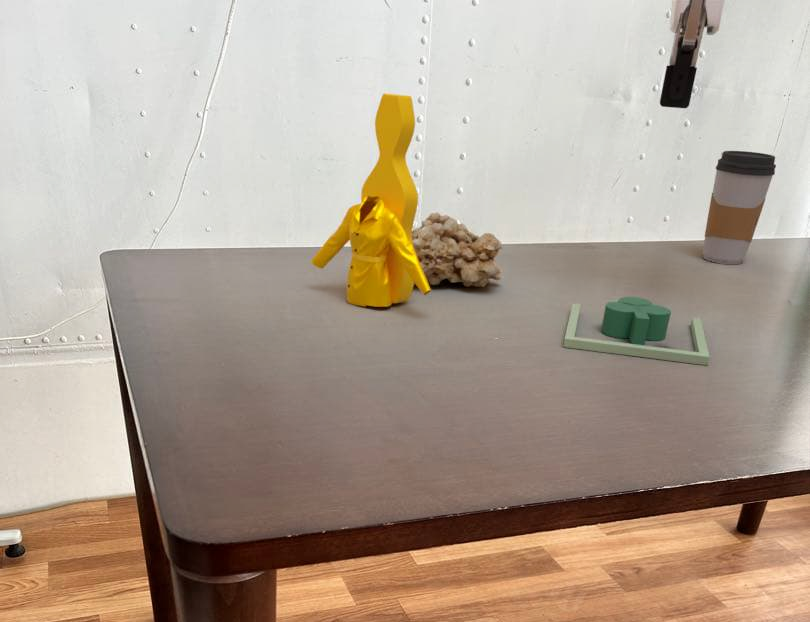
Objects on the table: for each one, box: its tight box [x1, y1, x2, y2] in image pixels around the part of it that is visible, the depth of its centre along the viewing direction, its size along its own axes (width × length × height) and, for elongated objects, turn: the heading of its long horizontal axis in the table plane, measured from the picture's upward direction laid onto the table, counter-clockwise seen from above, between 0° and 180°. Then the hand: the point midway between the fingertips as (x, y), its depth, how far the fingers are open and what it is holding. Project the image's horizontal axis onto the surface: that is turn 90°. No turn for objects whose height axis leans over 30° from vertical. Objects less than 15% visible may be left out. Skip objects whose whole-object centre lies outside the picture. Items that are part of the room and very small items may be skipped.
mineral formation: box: [412, 212, 503, 288], centre depth 107 cm, size 8×13×15 cm
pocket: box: [562, 303, 710, 366], centre depth 92 cm, size 14×15×1 cm
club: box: [600, 296, 672, 346], centre depth 92 cm, size 8×7×3 cm
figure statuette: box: [310, 93, 432, 308], centre depth 92 cm, size 18×8×22 cm, turn 53°
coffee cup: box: [701, 150, 777, 265], centre depth 123 cm, size 8×8×15 cm
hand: (673, 106), depth 93 cm, fingers closed
